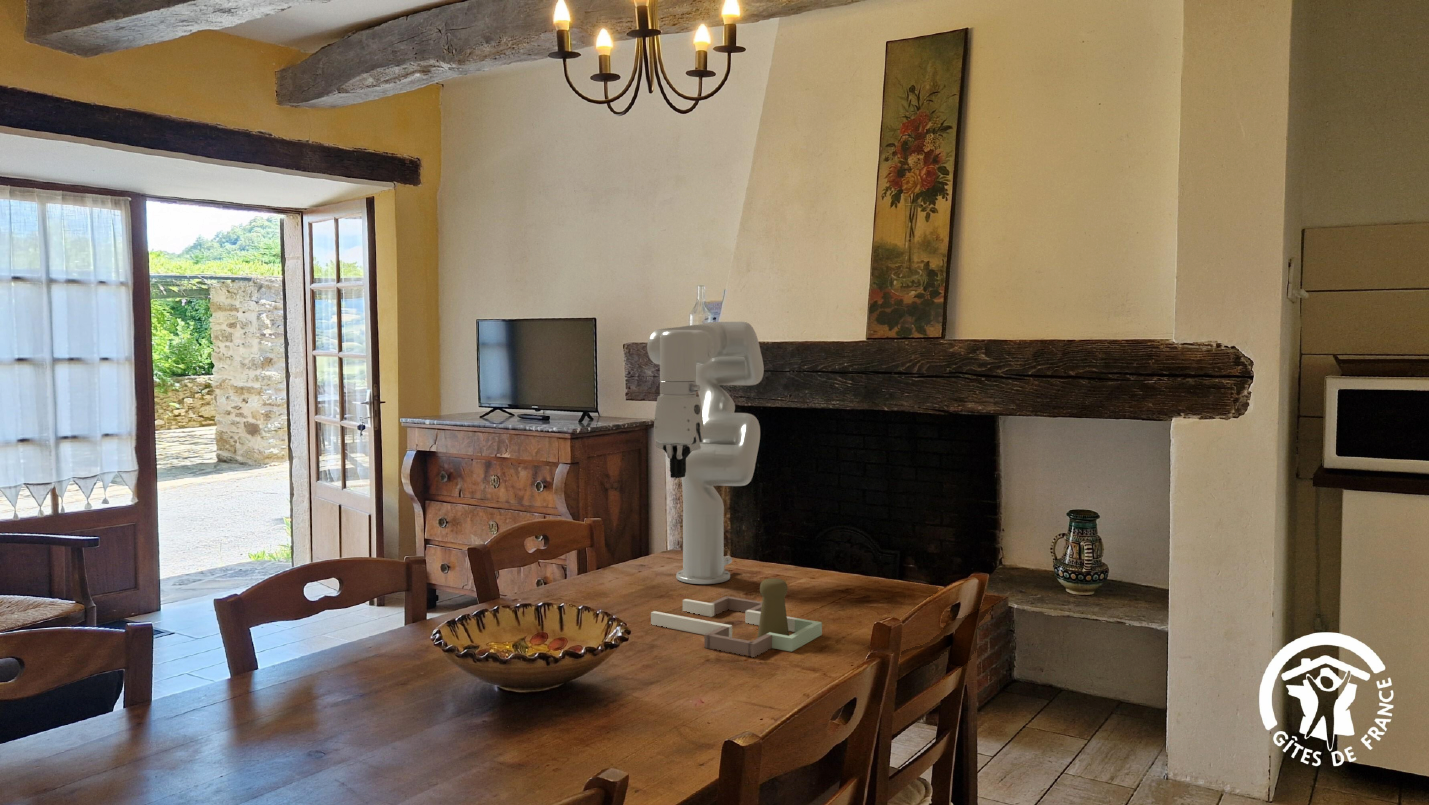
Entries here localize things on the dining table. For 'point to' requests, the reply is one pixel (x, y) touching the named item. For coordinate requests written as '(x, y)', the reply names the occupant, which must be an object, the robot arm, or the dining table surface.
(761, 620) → the olive pawn
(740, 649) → the trap lane
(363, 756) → the dining table surface
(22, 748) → the dining table surface
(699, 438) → the robot arm
